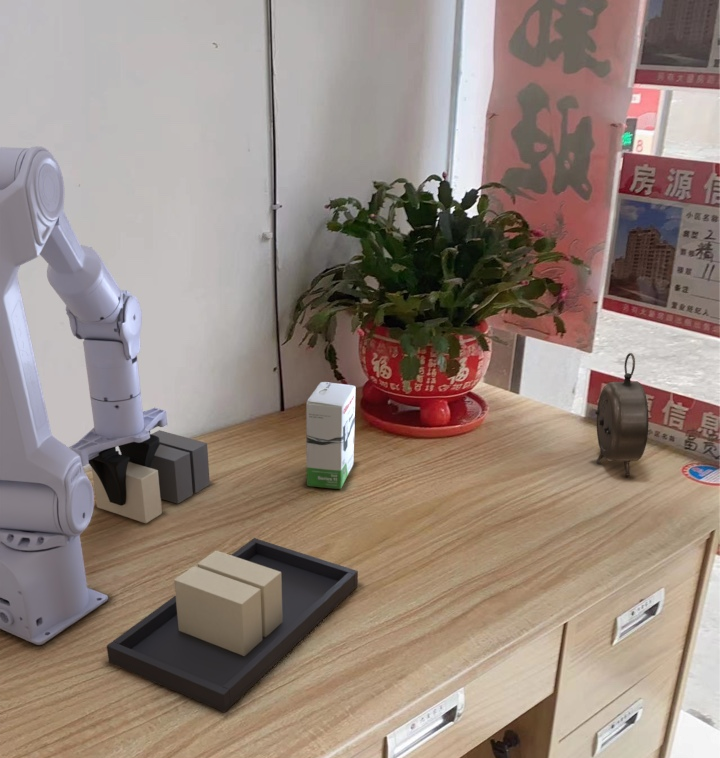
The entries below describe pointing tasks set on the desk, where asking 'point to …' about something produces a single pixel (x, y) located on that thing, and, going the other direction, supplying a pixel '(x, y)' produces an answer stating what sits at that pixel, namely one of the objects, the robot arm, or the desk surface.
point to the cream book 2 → (251, 584)
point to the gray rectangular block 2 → (173, 473)
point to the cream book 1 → (219, 610)
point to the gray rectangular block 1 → (196, 456)
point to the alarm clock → (622, 420)
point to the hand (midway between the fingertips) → (127, 497)
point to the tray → (221, 666)
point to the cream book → (134, 494)
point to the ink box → (330, 434)
